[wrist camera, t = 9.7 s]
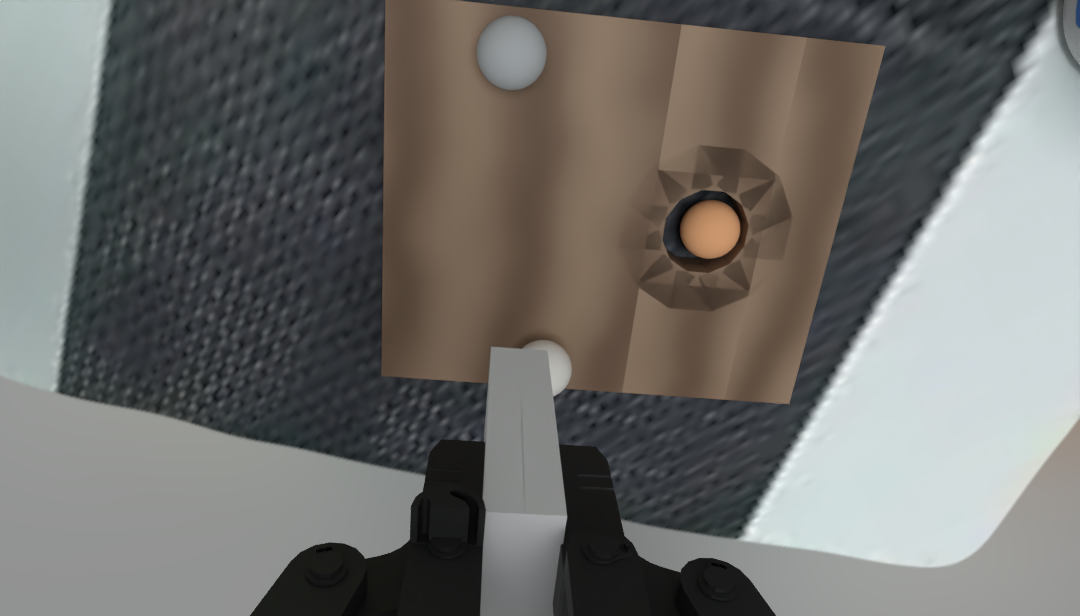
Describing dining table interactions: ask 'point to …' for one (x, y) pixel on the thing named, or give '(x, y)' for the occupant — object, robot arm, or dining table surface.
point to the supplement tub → (1072, 26)
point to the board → (611, 198)
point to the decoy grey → (511, 52)
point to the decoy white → (555, 363)
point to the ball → (710, 229)
